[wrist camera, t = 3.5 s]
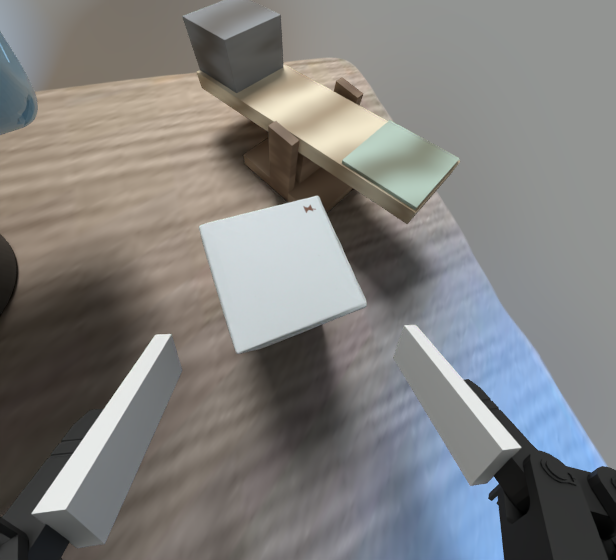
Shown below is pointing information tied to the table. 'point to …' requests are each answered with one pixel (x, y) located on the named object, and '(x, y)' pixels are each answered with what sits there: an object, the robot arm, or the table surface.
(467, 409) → the robot arm
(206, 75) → the seesaw beam
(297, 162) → the fulcrum stand
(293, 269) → the supplement box
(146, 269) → the table surface
